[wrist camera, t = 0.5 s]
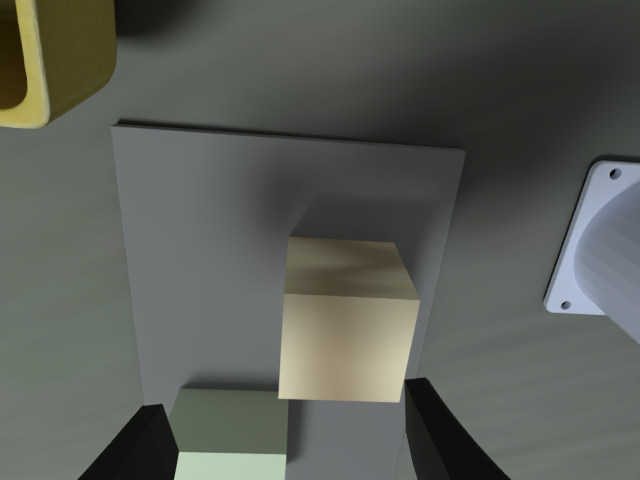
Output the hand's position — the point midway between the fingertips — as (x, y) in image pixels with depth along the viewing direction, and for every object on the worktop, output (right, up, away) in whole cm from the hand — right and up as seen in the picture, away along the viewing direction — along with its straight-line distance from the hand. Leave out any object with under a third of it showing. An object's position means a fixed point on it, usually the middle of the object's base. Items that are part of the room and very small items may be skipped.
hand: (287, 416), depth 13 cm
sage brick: (-4, -6, +12) cm, 14 cm away
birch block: (+2, +3, +8) cm, 9 cm away
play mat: (-1, -1, +11) cm, 11 cm away
